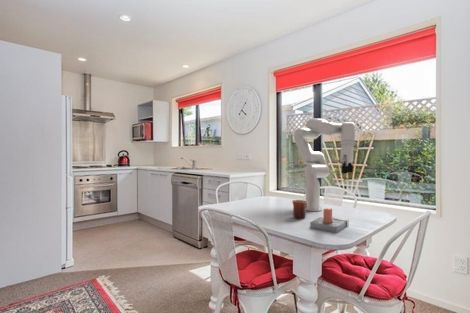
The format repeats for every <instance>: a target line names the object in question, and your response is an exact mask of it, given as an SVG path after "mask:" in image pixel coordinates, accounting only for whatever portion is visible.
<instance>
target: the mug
mask: <svg viewBox="0 0 470 313" xmlns="http://www.w3.org/2000/svg"><path fill="white" fill-rule="evenodd" d="M291 201H292V202H291V203H292V206H293V207H292V213H293V214H292V215H293V218H294V219H297V220H304V219H305V218H306V211H307V210H306V207H307V201H306V200H304V199H294V200H293V199H292V200H291Z"/></svg>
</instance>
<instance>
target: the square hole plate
mask: <svg viewBox="0 0 470 313" xmlns="http://www.w3.org/2000/svg"><path fill="white" fill-rule="evenodd" d="M309 227H310V229H316V230H320V231H324V232H329V233H331V232H332V233H336V234H337V233H339V232H340V231H342V230H343V229H345V228H347V227H346V221H340V220H334V219H332V223H325V222H323V217H319V218H316V219H314V220H312V221H310V223H309Z"/></svg>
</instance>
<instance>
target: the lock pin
mask: <svg viewBox="0 0 470 313" xmlns="http://www.w3.org/2000/svg"><path fill="white" fill-rule="evenodd" d="M322 213H323V216H322V218H323V222H325V223H332V217H333V208H328V207H324V208H323V212H322Z"/></svg>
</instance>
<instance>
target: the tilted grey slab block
mask: <svg viewBox="0 0 470 313" xmlns="http://www.w3.org/2000/svg"><path fill="white" fill-rule="evenodd" d="M332 219H334V220H340V221H346V227H345V228H347V227H349V226H350V224H349V223H350V222H349V221H350V220H349V219H346V218H341V217H335V216H332Z"/></svg>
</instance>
